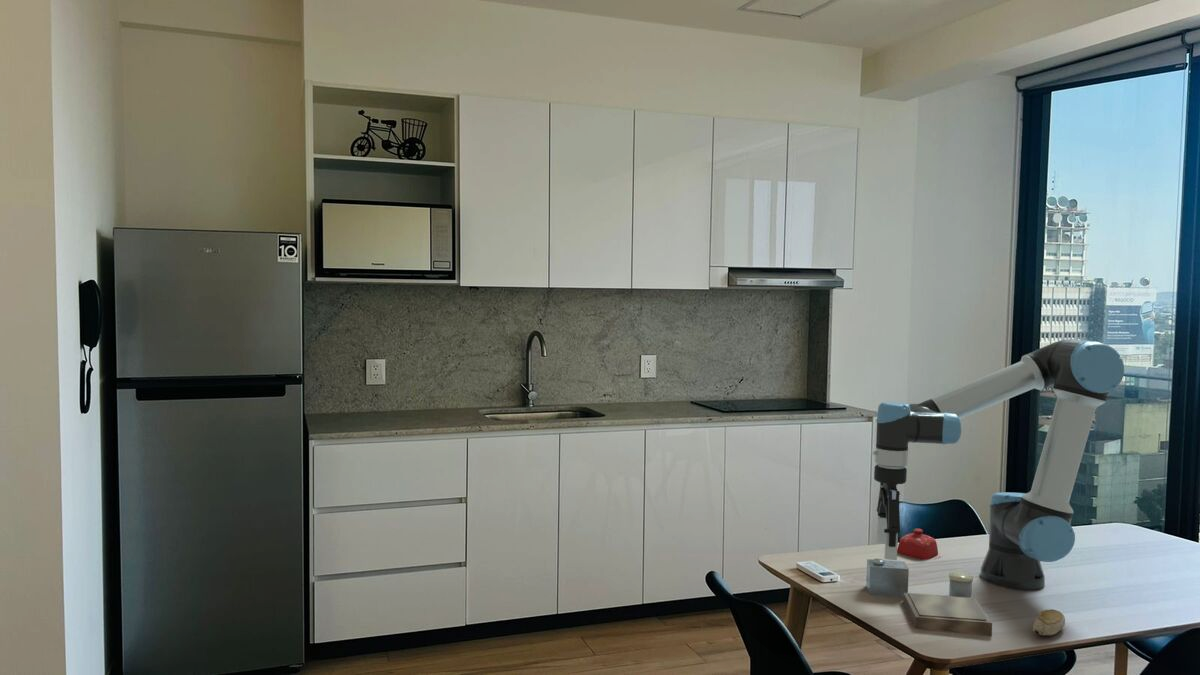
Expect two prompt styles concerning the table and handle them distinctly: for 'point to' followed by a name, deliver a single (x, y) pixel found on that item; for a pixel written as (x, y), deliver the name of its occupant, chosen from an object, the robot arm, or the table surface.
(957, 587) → the slate ceramic salt pot
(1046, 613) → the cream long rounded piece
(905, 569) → the grey knobbed box
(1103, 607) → the table surface
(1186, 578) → the table surface
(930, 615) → the walnut riser
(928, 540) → the butter dish
